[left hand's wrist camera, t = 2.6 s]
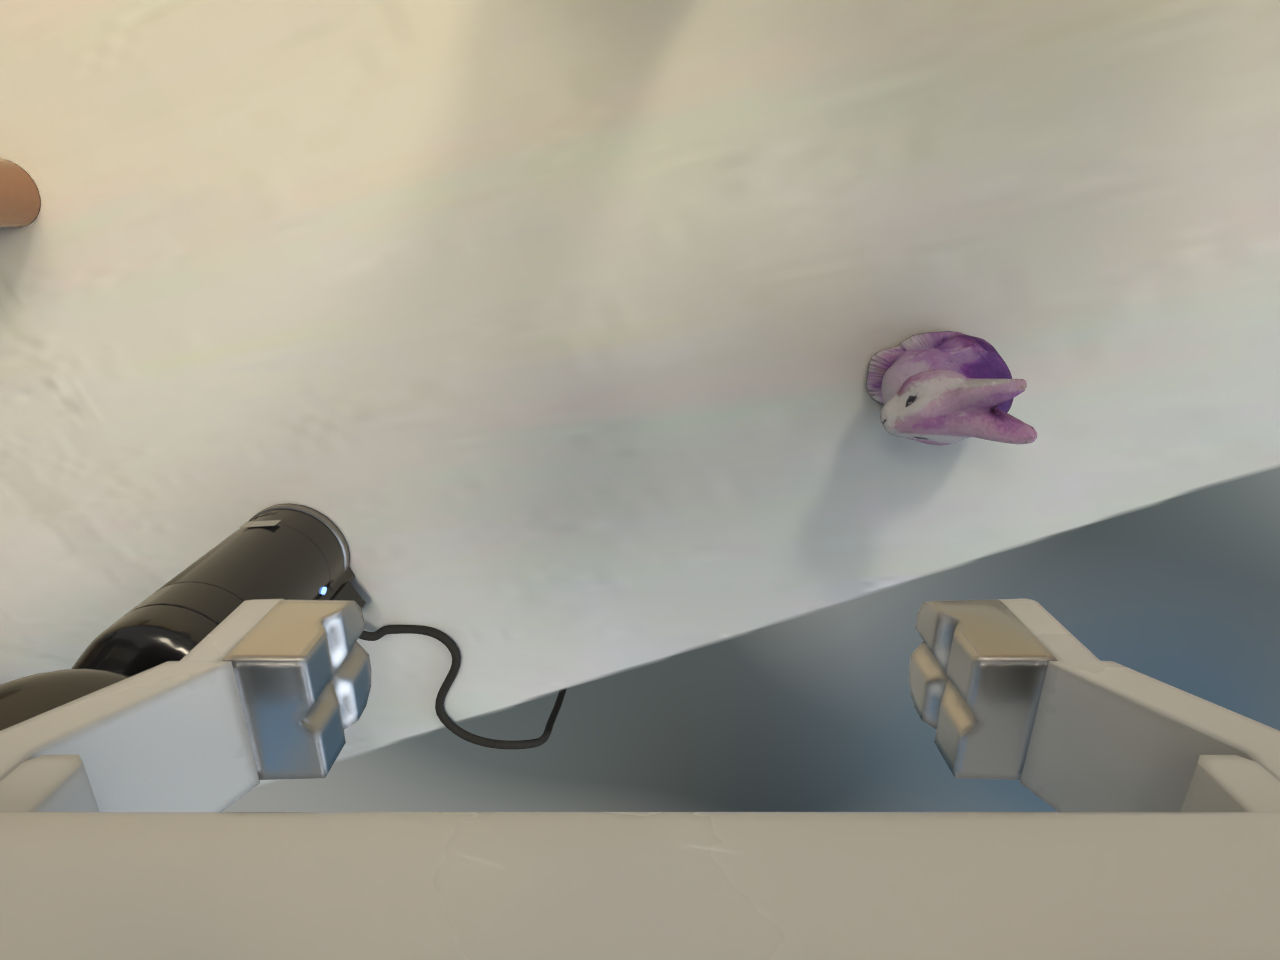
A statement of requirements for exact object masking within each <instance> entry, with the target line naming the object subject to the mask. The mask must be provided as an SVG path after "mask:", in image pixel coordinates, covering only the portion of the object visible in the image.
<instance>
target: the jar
mask: <svg viewBox="0 0 1280 960" xmlns="http://www.w3.org/2000/svg"><path fill="white" fill-rule="evenodd" d="M39 209H40V196H39V192H38V189H37V187H36V185H35V183H34V181H33V180H32V178H31V177H30V176H29V175H28V173H27V172H26V171H25V170H23V169H22V168H21V167H20V166H18V165H16V164H15V163H13V162H11V161H8V160H5V159H0V227H22V226H26V225H28V224H30V223H31V222H32V221H34V219H35V218H36V217H37V215H38V213H39Z"/></svg>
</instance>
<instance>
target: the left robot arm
mask: <svg viewBox="0 0 1280 960" xmlns="http://www.w3.org/2000/svg"><path fill="white" fill-rule="evenodd" d="M364 629H365V626H364V621H363V616H362V611H361V607H360V606H359V605H358V604H357V603H356V602H355V601H341V600H284V599H255V600H246V601H244V602H243V603H242V604H241V605H239V606H238V607H237V608H236V609H235V610H234V611H233V612H232V613H231V614H230V615H229V616H228V617H227V618H225V619H224V620H223V621H222V622H221V623H220V624H219V625H218V626H217V627H216V628H215V629H214V630H213V631H212V632H210V633H209V634H208V635H207V636H206V637H205V638H204V639H203V640H202V641H201V642H200V643H199V644H198V645H196V646H195V647H194V648H193V649H192V650H191V651H190V652H189V653H188V654H187V655H186V656H185V657H184V658H182V659H181V660H180V661H167V662H165V663H163V664H160V665H158V666H155V667H153V668H150V669H148V670H146V671H143V672H141V673H138V674H136V675H134V676H131V677H129V678H126V679H124V680H122V681H119V682H117V683H114V684H112V685H110V686H107V687H105V688H102V689H100V690H98V691H95V692H93V693H90V694H88V695H86V696H83V697H81V698H78V699H76V700H74V701H71V702H69V703H66V704H64V705H62V706H59V707H57V708H54V709H52V710H49V711H47V712H45V713H42V714H40V715H37V716H35V717H33V718H30V719H28V720H25V721H23V722H21V723H18V724H16V725H13V726H11V727H9V728H6V729H4V730H1V731H0V960H1280V731H1278V730H1276V729H1273V728H1271V727H1269V726H1266V725H1264V724H1261V723H1259V722H1257V721H1254V720H1252V719H1249V718H1247V717H1245V716H1242V715H1240V714H1237V713H1235V712H1232V711H1230V710H1228V709H1225V708H1223V707H1221V706H1218V705H1216V704H1213V703H1211V702H1209V701H1206V700H1204V699H1201V698H1199V697H1197V696H1194V695H1192V694H1189V693H1187V692H1185V691H1182V690H1180V689H1177V688H1175V687H1173V686H1170V685H1168V684H1165V683H1163V682H1160V681H1158V680H1156V679H1153V678H1151V677H1149V676H1146V675H1144V674H1141V673H1139V672H1137V671H1134V670H1132V669H1129V668H1127V667H1125V666H1122V665H1120V664H1117V663H1115V662H1113V661H1100V660H1099V659H1098V658H1096V657H1095V656H1094V655H1093V654H1092V653H1091V652H1090V651H1089V650H1088V649H1087V648H1086V647H1085V646H1084V645H1083V644H1081V643H1080V642H1079V641H1078V640H1077V639H1076V638H1075V637H1074V636H1073V635H1072V634H1071V633H1070V632H1069V631H1068V630H1066V629H1065V628H1064V627H1063V626H1062V625H1061V624H1060V623H1059V622H1058V621H1057V620H1056V619H1055V618H1054V617H1053V616H1051V615H1050V614H1049V613H1048V612H1047V611H1046V610H1045V609H1044V608H1043V607H1042V606H1041V605H1040V604H1039V603H1038V602H1036V601H1033V600H1030V599H1006V600H958V601H929V602H923V603H922V604H921V607H920V609H919V611H918V615H917V620H916V626H915V629H916V630H917V632H918V633H919V635H920V636H921V638H922V639H923V641H924V642H923V643H922V644H921V645H920V646H919V647H918V648H917V649H916V650H915V651H914V652H913V653H912V654H911V659H910V667H909V684H910V694H911V697H912V700H913V703H914V707H915V709H916V711H917V712H918V714H919V716H920V718H921V720H922V721H924V722H925V723H927V724H929V725H930V726H932V727H933V728H935V729H936V736H935V744H936V746H937V748H938V749H939V751H940V753H941V755H942V756H943V758H944V760H945V762H946V763H947V765H948V767H949V768H950V770H951V772H952V773H953V775H954V777H955V778H974V779H1010V780H1020V783H1021V784H1022V785H1024V786H1025V787H1026V788H1028V789H1029V790H1030V791H1032V792H1033V793H1034V794H1036V795H1037V796H1038V797H1040V798H1041V799H1042V800H1044V801H1045V802H1046V803H1048V804H1049V805H1050V806H1051V807H1053V808H1054V809H1055V810H1057V811H1058V812H222V811H223V810H225V809H226V808H227V807H229V806H230V805H231V804H233V803H234V802H235V801H237V800H238V799H239V798H241V797H242V796H243V795H245V794H246V793H247V792H249V791H250V790H251V789H253V788H254V787H255V786H257V785H258V784H259V783H260V781H259V780H269V779H304V778H325V777H326V775H327V774H328V772H329V770H330V769H331V767H332V765H333V763H334V762H335V760H336V758H337V756H338V755H339V753H340V751H341V750H342V748H343V746H344V744H345V743H346V742H345V736H344V729H345V728H347V727H348V726H350V725H351V724H353V723H355V722H356V721H358V720H359V718H360V716H361V714H362V712H363V711H364V709H365V707H366V704H367V700H368V696H369V692H370V687H371V665H370V658H369V654H368V653H367V652H366V651H365V650H364V649H363V648H362V647H361V646H360V645H359V644H358V643H357V642H356V641H357V639H358V638H359V636H360V635H361V633H362V632H363V630H364Z"/></svg>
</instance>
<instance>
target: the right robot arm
mask: <svg viewBox="0 0 1280 960" xmlns="http://www.w3.org/2000/svg"><path fill="white" fill-rule="evenodd" d="M239 528H240V529H238V530H237V531H236V532H234V533H233V534H232V535H230V536H229V537H228V538H226V539H225V540H224V541H222V542H221V543H220V544H218V545H217V546H216V547H214V548H213V549H212V550H210V551H209V552H208V553H206V554H205V555H204V556H202V557H201V558H200V559H198V560H197V561H196V562H195V563H193V564H192V565H191V566H189V567H188V568H187V569H185V570H184V571H183V572H181V573H180V574H179V575H177V576H176V577H175V578H173V579H172V580H171V581H169V582H168V583H167V584H165V585H164V586H163V587H161V588H160V589H159V590H157V591H156V592H155V593H153V594H152V595H151V596H149V597H148V598H147V599H145V600H144V601H143V602H141V603H140V604H139V605H137V606H136V607H135V608H133V609H132V610H131V611H129V612H128V613H127V614H126V615H124V616H123V617H122V618H120V619H119V620H118V621H116V622H115V623H114V624H112V625H111V626H110V627H109V628H107V629H106V630H105V631H103V632H102V633H101V634H100V635H99V636H98V637H97V638H96V639H94V641H93V642H92V643H91V644H90V645H89V646H88V647H87V648H86V650H85V651H84V652H83V653H82V655H81V656H80V658H79V659H78V660H77V662H76V663H75V664H74V666H73V667H72V668H71V669H69V670H59V671H53V672H47V673H40V674H35V675H31V676H27V677H23V678H20V679H16V680H13V681H10V682H7V683H4V684H1V685H0V731H1V730H4V729H6V728H9V727H11V726H13V725H16V724H18V723H21V722H23V721H25V720H28V719H30V718H33V717H35V716H37V715H40V714H42V713H45V712H47V711H49V710H52V709H54V708H57V707H59V706H62V705H64V704H66V703H69V702H71V701H74V700H76V699H78V698H81V697H83V696H86V695H88V694H90V693H93V692H95V691H98V690H100V689H102V688H105V687H107V686H110V685H112V684H114V683H117V682H119V681H122V680H124V679H126V678H129V677H131V676H134V675H136V674H138V673H141V672H143V671H146V670H148V669H150V668H153V667H155V666H158V665H160V664H163V663H165V662H167V661H180V660H181V659H182V658H184V657H185V656H186V655H187V654H188V653H189V652H190V651H191V650H192V649H193V648H194V647H195V646H196V645H198V644H199V643H200V642H201V641H202V640H203V639H204V638H205V637H206V636H207V635H208V634H209V633H210V632H212V631H213V630H214V629H215V628H216V627H217V626H218V625H219V624H220V623H221V622H222V621H223V620H224V619H225V618H227V617H228V616H229V615H230V614H231V613H232V612H233V611H234V610H235V609H236V608H237V607H238V606H239V605H241V604H242V603H243V602H244V601H246V600H255V599H284V600H341V601H355V602H356V603H357V604H358V605H359V606H360V607H361V609H362V607H363V606H364V605H365V601H364V600H363V599H362V598H361V596H360V595H359V594H358V593H357V591H356V590H355V589H354V588H353V586H352V585H351V584H350V582H351V580H352V579H353V578H354V574H353V573H352V571H351V570H350V568H349V551H348V547H347V544H346V541H345V539H344V537H343V535H342V533H341V532H340V531H339V529H338V528H337V527H336V526H335V524H333V523H332V522H331V521H330V520H329V519H328V518H327V517H325V516H324V515H322V514H321V513H319V512H317V511H315V510H313V509H311V508H308V507H305V506H301V505H296V504H280V505H275V506H271V507H268V508H266V509H264V510H262V511H261V512H259V513H258V514H256V515H255V516H254V517H253V518H251V519H250V520H249V521H248V522H246V523H245V524H243V525H242V526H241V527H239ZM398 633H414V634H423V635H428V636H431V637H433V638H436V639H438V640H439V641H441V642H442V643H443V644H444V645H445V646H446V647H447V648H448V649H449V651H450V653H451V655H452V665H451V669H450V671H449V673H448V675H447V677H446V679H445V680H444V682H443V684H442V686H441V688H440V690H439V692H438V695H437V698H436V705H435V709H436V713H437V716H438V717H439V719H440V721H441V722H442V723H443V724H444V725H445V726H446V727H447V728H448V729H449V730H450V731H452V732H453V733H454V734H456V735H457V736H459V737H460V738H462V739H464V740H466V741H469V742H472V743H474V744H477V745H481V746H485V747H490V748H498V749H525V748H533V747H537V746H540V745H542V744H544V743H545V742H546V741H547V740H548V739H549V737H550V734H551V732H552V729H553V725H554V722H555V720H556V717H557V715H558V713H559V710H560V708H561V705H562V702H563V699H564V696H565V693H566V689H567V688H564V689H561V690H559V693H558V696H557V699H556V702H555V705H554V707H553V710H552V712H551V714H550V716H549V719H548V721H547V724H546V727H545V730H544V733H543V734H542V735H541V736H540V737H539V738H537V739H532V740H523V741H503V740H493V739H488V738H484V737H480V736H477V735H474V734H471V733H469V732H467V731H465V730H463V729H462V728H460V727H459V726H457V725H456V724H455V723H454V722H453V721H452V720H451V719H450V718H449V717H448V716H447V714H446V713H445V711H444V706H443V704H444V699H445V696H446V694H447V692H448V690H449V688H450V686H451V684H452V683H453V681H454V679H455V677H456V675H457V673H458V670H459V667H460V658H461V657H460V652H459V649H458V647H457V646H456V644H455V643H454V642H453V640H452V639H451V638H450V637H448V636H447V635H446V634H444V633H443V632H441V631H439V630H437V629H434V628H431V627H427V626H419V625H389V626H384V627H382V628H380V629H378V630H377V631H375V632H367V631H364V630H363V632H362V633H361V635H360V636H359V638H360V639H363V640H368V641H375V640H378V639H380V638H381V637H383V636H384V635H386V634H398Z"/></svg>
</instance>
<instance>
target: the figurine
mask: <svg viewBox="0 0 1280 960" xmlns="http://www.w3.org/2000/svg"><path fill="white" fill-rule="evenodd" d="M868 372H869V373H868V377H867V378H868V380H867V389H868V393H869V395H870V396H871V397H872V398H873V399H875V400H876V401H878V402H881V403H882V404H883V405H884V407H883V408H882V410H881V422H882V424H883V425H884V428H885V429H886V430H887V432H888V433H890V434H892V435H894V436H898V437H904V438H908V439H913V440H917V441H920V442H923V443H926V444H932V445H948V444H951V443H955V442H957V441H959V440H961V439H963V438H967V437H977V438H981V439H986V440H991V441H998V442H1004V443H1011V444H1028V443H1032V442H1034V441H1035V439H1036V438H1037V433H1036V431H1035V429H1034V428H1033V427H1031V426H1030V425H1028V424H1026V423H1024V422H1022V421H1021V420H1019V419H1017V418H1015V417H1013V416H1011V415H1009V414H1007V412H1008V411H1009V409H1010V407H1011V405H1012V401H1013V398H1014V397H1015V396H1017V395H1019V394H1020V393H1022V392H1024V391H1025V389H1026V387H1027V383H1026V381H1025V380H1023V379H1012V376H1011V373H1010V371H1009V369H1008V367H1007V365H1006V363H1005V362H1004V360H1003V359H1002V358H1001V356H1000V355H999V354H998V352H997V351H996V350H995V348H994V347H993V346H992V345H990V344H989V343H988V342H986V341H985V340H983V339H981V338H977V337H973V336H968V335H965V334H962V333H959V332H951V331H947V332H930V333H923V334H919V335H915V336H911V337H909V338H908V339H906V340H904V341H903V342H901V343H900V344H899V345H898V346H897V347H893V348H890V349H887V350H883V351H880V352H878V353H877V354H875V355H874V356H873V357H872V359H871V361H870V364H869V371H868Z"/></svg>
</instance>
